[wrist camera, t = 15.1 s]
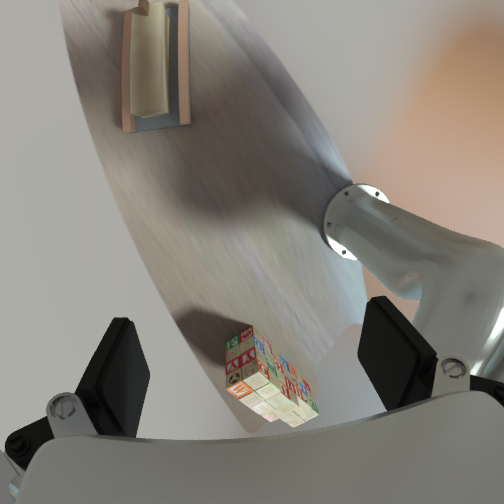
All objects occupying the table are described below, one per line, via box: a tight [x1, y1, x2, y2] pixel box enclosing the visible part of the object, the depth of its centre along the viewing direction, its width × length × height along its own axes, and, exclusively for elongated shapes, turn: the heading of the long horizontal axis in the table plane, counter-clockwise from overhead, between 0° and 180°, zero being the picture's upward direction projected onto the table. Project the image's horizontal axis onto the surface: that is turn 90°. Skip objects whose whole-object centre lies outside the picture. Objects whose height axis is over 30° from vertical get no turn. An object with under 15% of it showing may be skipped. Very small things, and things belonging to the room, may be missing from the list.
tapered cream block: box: [130, 0, 170, 118], centre depth 28 cm, size 4×16×9 cm, turn 3°
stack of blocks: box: [226, 326, 319, 427], centre depth 48 cm, size 21×6×12 cm, turn 36°
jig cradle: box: [121, 0, 192, 133], centre depth 32 cm, size 9×20×3 cm, turn 3°
